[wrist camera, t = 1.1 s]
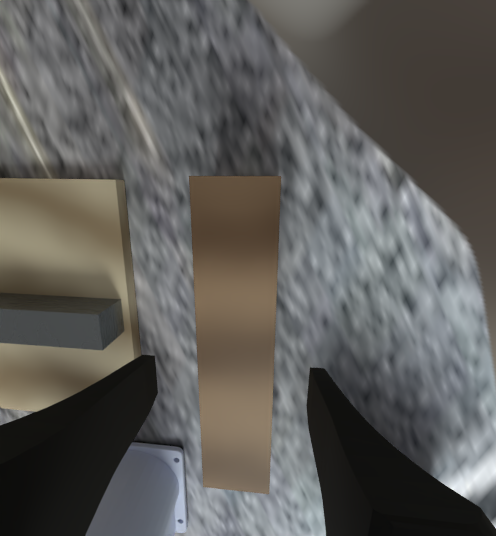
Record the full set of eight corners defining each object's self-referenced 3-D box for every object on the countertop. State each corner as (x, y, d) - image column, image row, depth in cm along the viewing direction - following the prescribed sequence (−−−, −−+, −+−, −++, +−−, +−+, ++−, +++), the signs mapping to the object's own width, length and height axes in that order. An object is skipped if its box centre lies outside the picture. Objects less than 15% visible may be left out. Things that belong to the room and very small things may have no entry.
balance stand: (146, 411, 22) (123, 450, 19) (12, 399, 23) (-33, 433, 20) (124, 180, 17) (87, 176, 14) (-44, 178, 18) (-114, 174, 15)
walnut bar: (270, 420, 21) (269, 494, 16) (220, 416, 22) (203, 486, 16) (279, 182, 17) (281, 176, 11) (215, 182, 17) (189, 176, 12)
